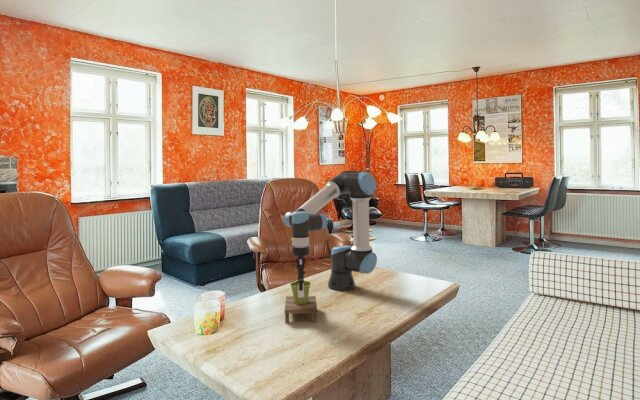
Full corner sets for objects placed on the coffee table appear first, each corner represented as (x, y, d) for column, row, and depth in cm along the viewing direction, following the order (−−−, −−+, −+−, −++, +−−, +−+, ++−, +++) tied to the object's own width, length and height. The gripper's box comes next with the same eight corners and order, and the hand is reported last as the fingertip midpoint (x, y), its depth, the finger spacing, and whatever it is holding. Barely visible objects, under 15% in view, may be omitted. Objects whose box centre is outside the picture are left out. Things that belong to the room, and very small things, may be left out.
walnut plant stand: (286, 308, 191) (286, 296, 191) (315, 308, 192) (315, 295, 191) (284, 323, 173) (284, 309, 173) (317, 322, 174) (317, 309, 174)
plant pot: (286, 302, 182) (285, 284, 181) (301, 297, 189) (300, 279, 188) (300, 307, 176) (300, 288, 175) (315, 301, 182) (315, 283, 182)
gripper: (292, 241, 192) (293, 284, 194) (291, 251, 168) (292, 301, 169) (308, 240, 193) (308, 284, 194) (309, 251, 168) (309, 301, 170)
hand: (300, 292), depth 182 cm, fingers open, 13 cm apart
